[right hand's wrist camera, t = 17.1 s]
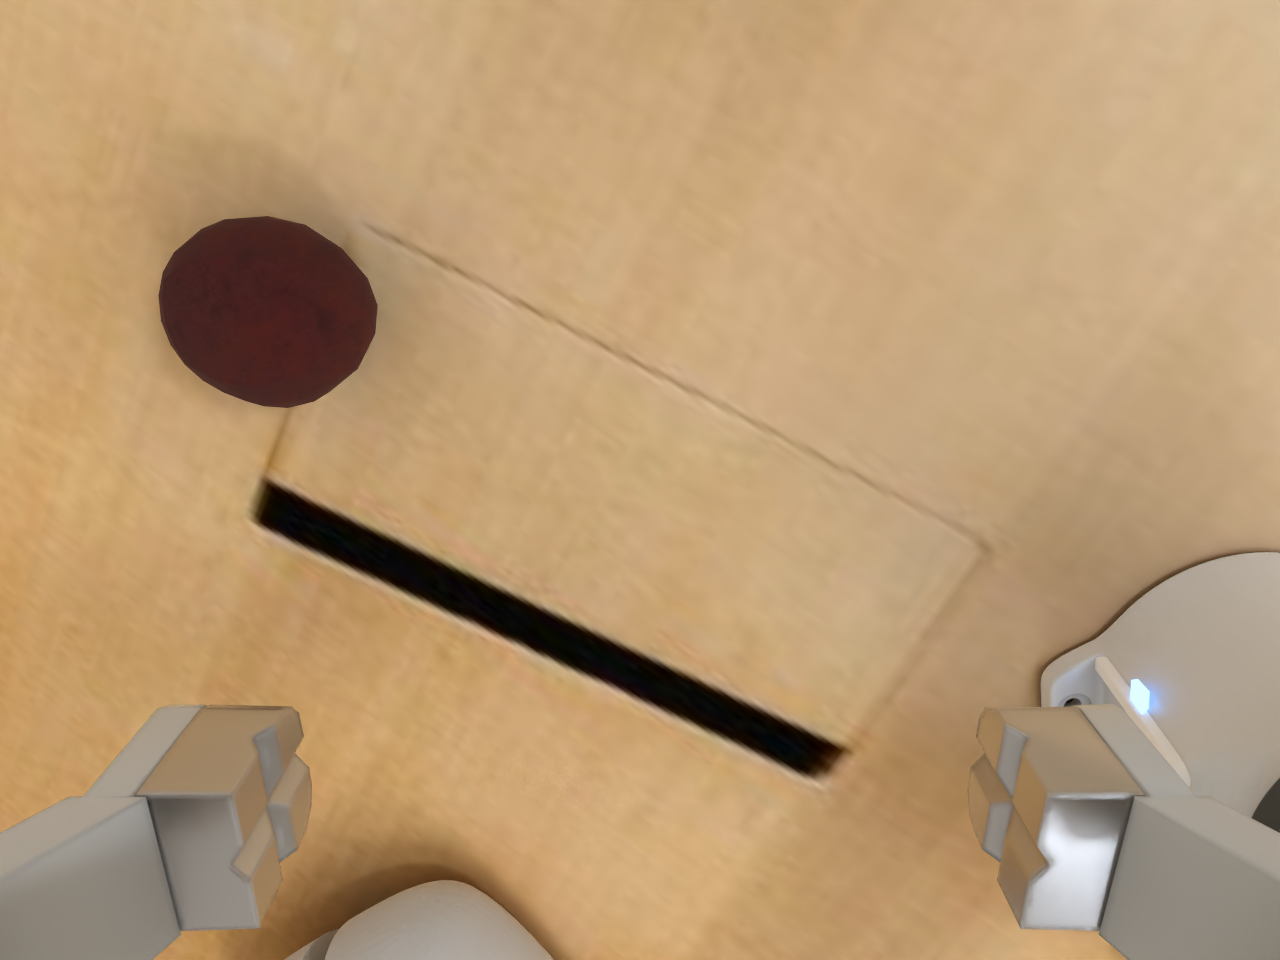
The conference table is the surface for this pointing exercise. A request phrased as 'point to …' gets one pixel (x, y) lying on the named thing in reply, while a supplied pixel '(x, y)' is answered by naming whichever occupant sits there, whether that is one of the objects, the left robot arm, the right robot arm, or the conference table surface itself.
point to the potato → (267, 310)
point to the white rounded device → (429, 929)
